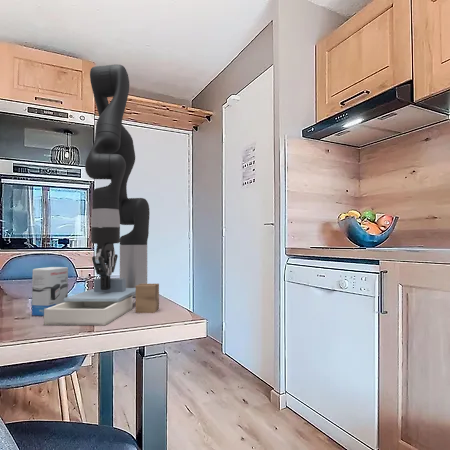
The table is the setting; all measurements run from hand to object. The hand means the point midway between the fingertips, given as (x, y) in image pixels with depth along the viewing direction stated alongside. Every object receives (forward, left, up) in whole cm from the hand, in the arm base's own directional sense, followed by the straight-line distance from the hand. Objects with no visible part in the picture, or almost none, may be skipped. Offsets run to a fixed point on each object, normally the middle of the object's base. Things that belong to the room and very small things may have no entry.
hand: (105, 289), depth 102 cm
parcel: (+1, +12, -6) cm, 13 cm away
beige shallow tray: (+8, 0, -5) cm, 10 cm away
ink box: (+4, -13, -6) cm, 15 cm away
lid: (-1, 0, -2) cm, 2 cm away
